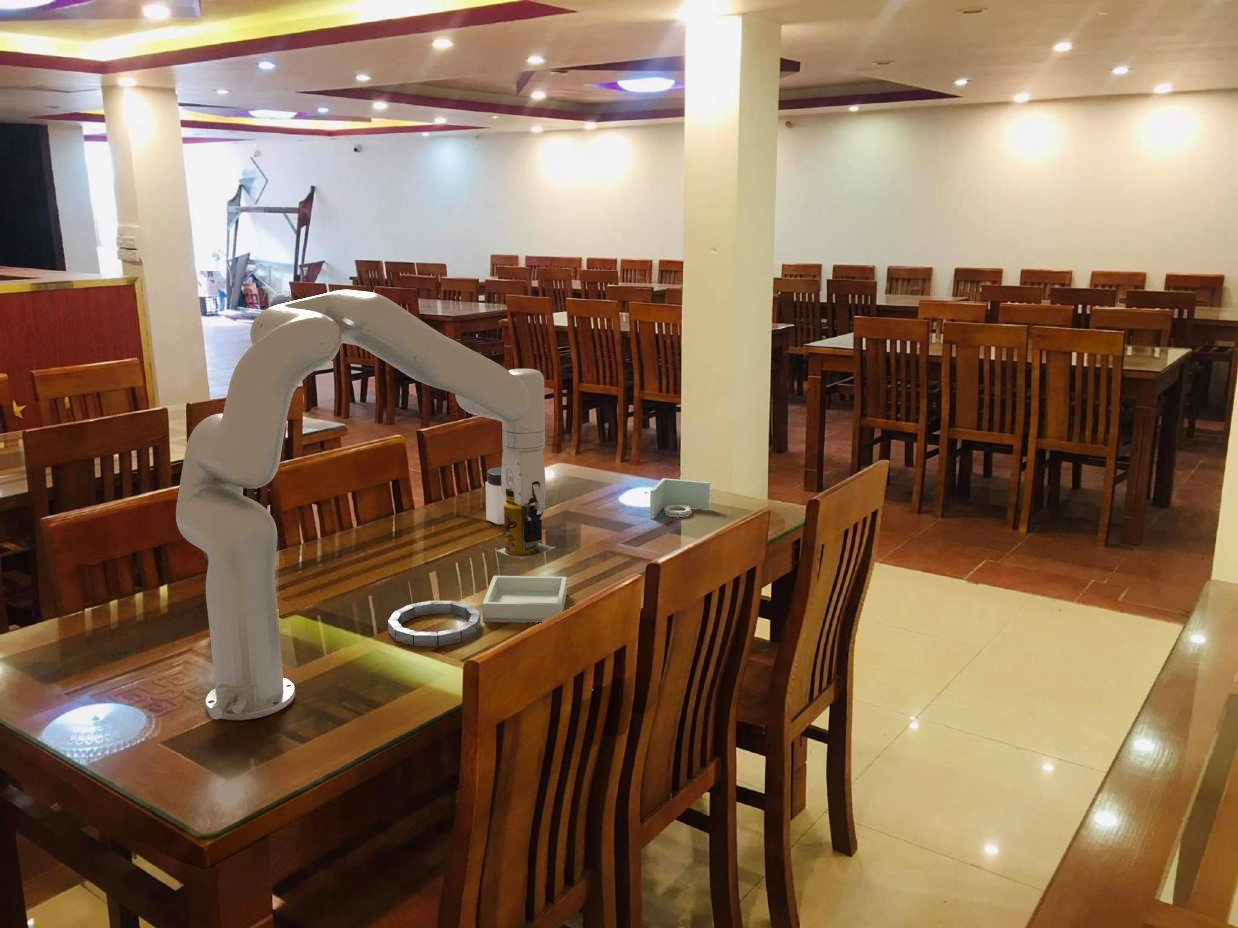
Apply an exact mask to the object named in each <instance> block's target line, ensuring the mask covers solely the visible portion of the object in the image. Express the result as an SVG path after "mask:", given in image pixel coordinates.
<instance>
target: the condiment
mask: <svg viewBox="0 0 1238 928" xmlns="http://www.w3.org/2000/svg"><path fill="white" fill-rule="evenodd" d="M533 502H535V501H534V499H533V500H529V502H528V503H533ZM529 508H530V512H531V511H532V509H534V508H535V506H532V507H529ZM524 520H526V516H525V510H524V506H519V505H517V504H516V503H514V493H513V491H511V490H510V489H508V488H507V489H506V502H505V503H504V524H503V527H504V547H503V548H500V549H495V550H494V551H496V552H498V553H501V554H503V555H506V556H510V557H512V558H516V559H519V560H525V559H528V558H531V557H534V556H538V555H539V554H542V553H546V552H548V551H552V549H556V547H555V546H550V545H546V544H543V543H540V542H539V540H538V541H532V542H526V541H524Z"/></svg>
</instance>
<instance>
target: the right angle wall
mask: <svg viewBox="0 0 1238 928" xmlns="http://www.w3.org/2000/svg"><path fill="white" fill-rule="evenodd" d="M649 493H650V498H649V499H650V500H649V501H650V502H649V504H650V505H649V520H654V519H655V518H656V517H657V516H658V515H659V513H660V512H661V511H662V510H663V513H662V514H663V515H664V516H665V517H669V518H671V517H683V516H684V517H683V518H686V517H685V516H687V515H690V514H691V515H692V510H693V509H691V508H696V509H709V510H710V499H711V498H710V497H711V496H710V495H711V482H710V481H701V480H699V481H698V480H689V479H688V480H686V479H677V478H676V479H675V478H666V477H665V478H661V479H660V481H658V483H656V484H655V485H654V486H653V487H652V489H650V492H649ZM664 506H666V507H664ZM663 507H664V508H663ZM662 508H663V509H662ZM661 509H662V510H661ZM696 509H695V510H696ZM664 513H665V514H664ZM657 514H658V515H657ZM691 515H690V516H691Z"/></svg>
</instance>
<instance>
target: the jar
mask: <svg viewBox="0 0 1238 928" xmlns="http://www.w3.org/2000/svg"><path fill="white" fill-rule="evenodd" d="M501 472H502V466H495V467H491V468H489V469H488V470H487V471H486V480H487V481H485V514H486V516H485V517H486V521H489V522H490V523H493V524H495V525H504V503H505V502H506V497H505V496H504V495H503V494H502V492H501Z"/></svg>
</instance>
